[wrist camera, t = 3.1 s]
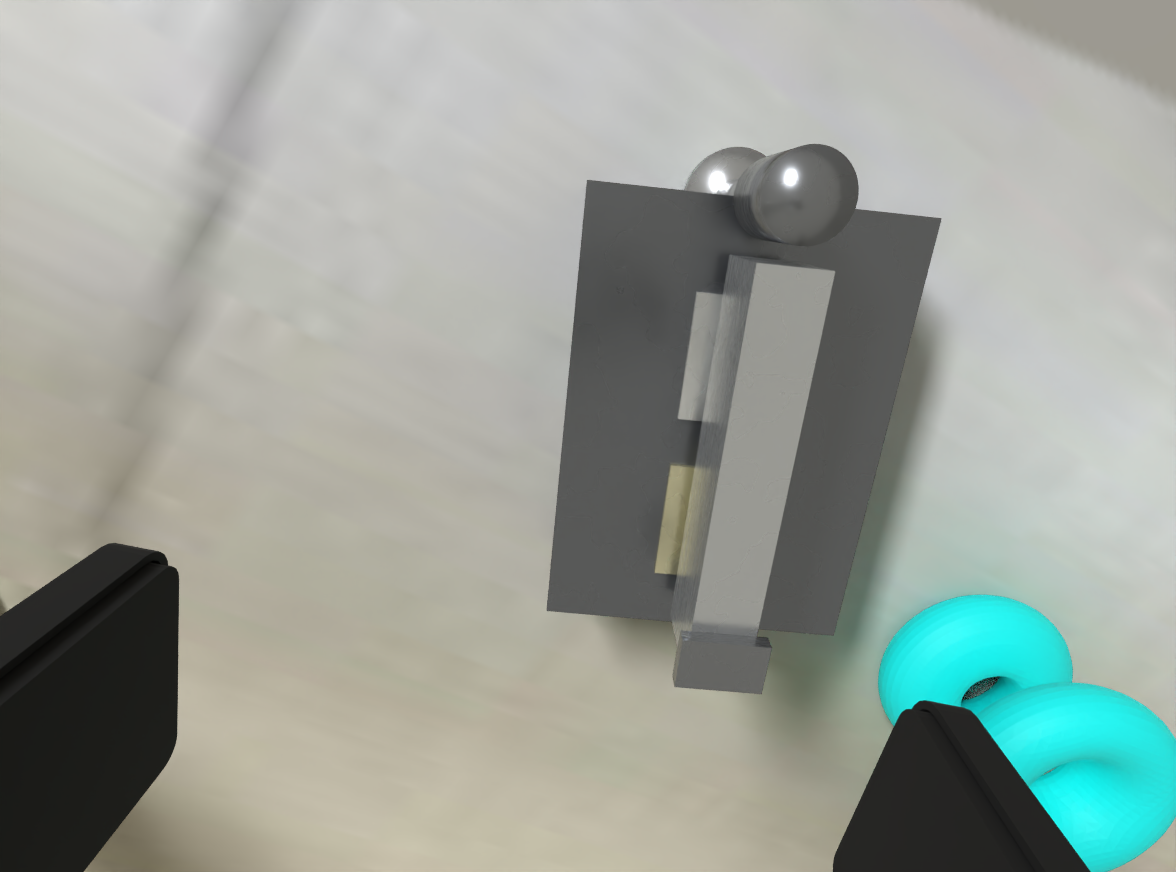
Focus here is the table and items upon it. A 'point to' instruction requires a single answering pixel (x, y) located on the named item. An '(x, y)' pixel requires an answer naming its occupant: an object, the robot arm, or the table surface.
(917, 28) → the table surface
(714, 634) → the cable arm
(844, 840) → the robot arm
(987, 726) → the donuts
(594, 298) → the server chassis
